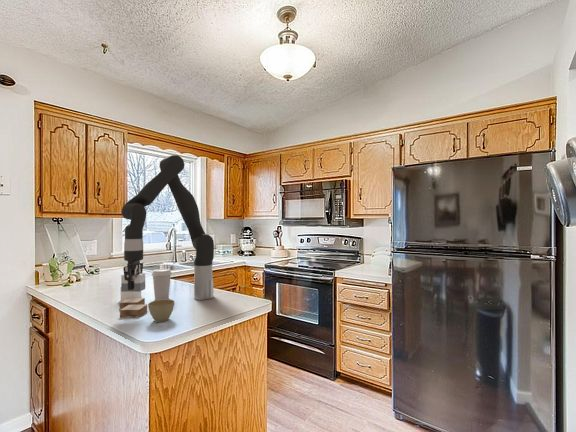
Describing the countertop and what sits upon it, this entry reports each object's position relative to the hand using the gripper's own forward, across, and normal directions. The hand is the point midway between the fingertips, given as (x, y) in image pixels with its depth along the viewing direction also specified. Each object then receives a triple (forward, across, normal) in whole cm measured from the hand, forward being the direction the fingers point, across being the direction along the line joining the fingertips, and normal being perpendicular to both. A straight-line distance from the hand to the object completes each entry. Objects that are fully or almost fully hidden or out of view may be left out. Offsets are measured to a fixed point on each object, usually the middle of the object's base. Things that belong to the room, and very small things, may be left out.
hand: (133, 288), depth 135 cm
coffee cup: (+11, +25, -3) cm, 28 cm away
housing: (+1, 0, 0) cm, 1 cm away
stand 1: (+11, +12, +6) cm, 17 cm away
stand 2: (+11, 0, 0) cm, 11 cm away
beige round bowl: (+11, -9, -15) cm, 21 cm away
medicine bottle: (+11, +26, +13) cm, 31 cm away
